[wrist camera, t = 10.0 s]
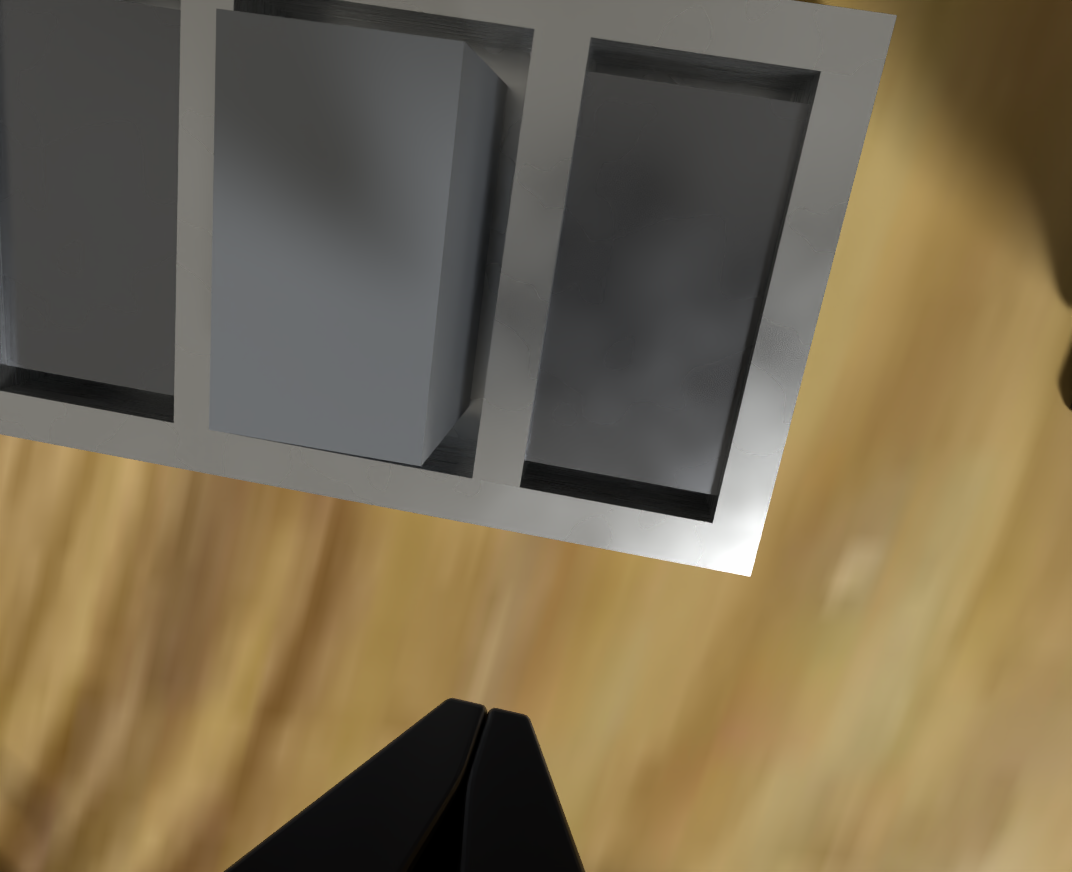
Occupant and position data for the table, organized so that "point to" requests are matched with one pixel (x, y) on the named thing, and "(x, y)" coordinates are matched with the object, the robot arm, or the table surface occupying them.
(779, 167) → the rack
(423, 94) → the grey upright box
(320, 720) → the table surface
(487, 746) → the robot arm
